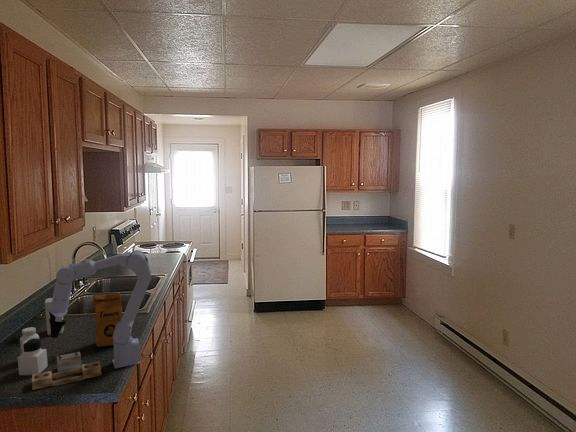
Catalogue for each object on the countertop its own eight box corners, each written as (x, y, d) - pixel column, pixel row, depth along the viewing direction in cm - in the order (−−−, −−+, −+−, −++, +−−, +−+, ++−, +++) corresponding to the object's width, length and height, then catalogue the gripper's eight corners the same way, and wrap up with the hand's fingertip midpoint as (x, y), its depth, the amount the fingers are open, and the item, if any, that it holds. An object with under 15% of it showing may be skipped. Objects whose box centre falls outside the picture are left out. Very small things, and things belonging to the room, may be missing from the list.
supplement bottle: (44, 356, 180) (41, 326, 179) (35, 363, 174) (33, 332, 172) (27, 357, 180) (24, 326, 179) (18, 364, 173) (15, 332, 172)
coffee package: (126, 346, 190) (123, 295, 187) (94, 350, 186) (91, 298, 184) (127, 337, 199) (124, 289, 197) (96, 341, 195) (93, 292, 193)
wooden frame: (99, 367, 169) (98, 359, 169) (101, 375, 163) (101, 367, 163) (33, 381, 159) (32, 372, 159) (32, 390, 153) (31, 381, 152)
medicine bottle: (48, 366, 171) (45, 336, 170) (38, 375, 164) (35, 343, 163) (29, 366, 171) (26, 336, 170) (18, 375, 164) (16, 344, 163)
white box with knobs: (80, 363, 173) (79, 350, 173) (81, 367, 170) (80, 353, 169) (57, 368, 170) (56, 354, 169) (57, 372, 166) (56, 358, 166)
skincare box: (62, 333, 205) (60, 300, 203) (46, 336, 202) (43, 302, 200) (64, 327, 212) (62, 296, 211) (48, 329, 210) (46, 297, 208)
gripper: (48, 291, 169) (41, 325, 170) (49, 303, 156) (41, 340, 157) (69, 293, 172) (62, 326, 173) (71, 305, 160) (63, 341, 160)
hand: (53, 333), depth 165 cm, fingers open, 7 cm apart
